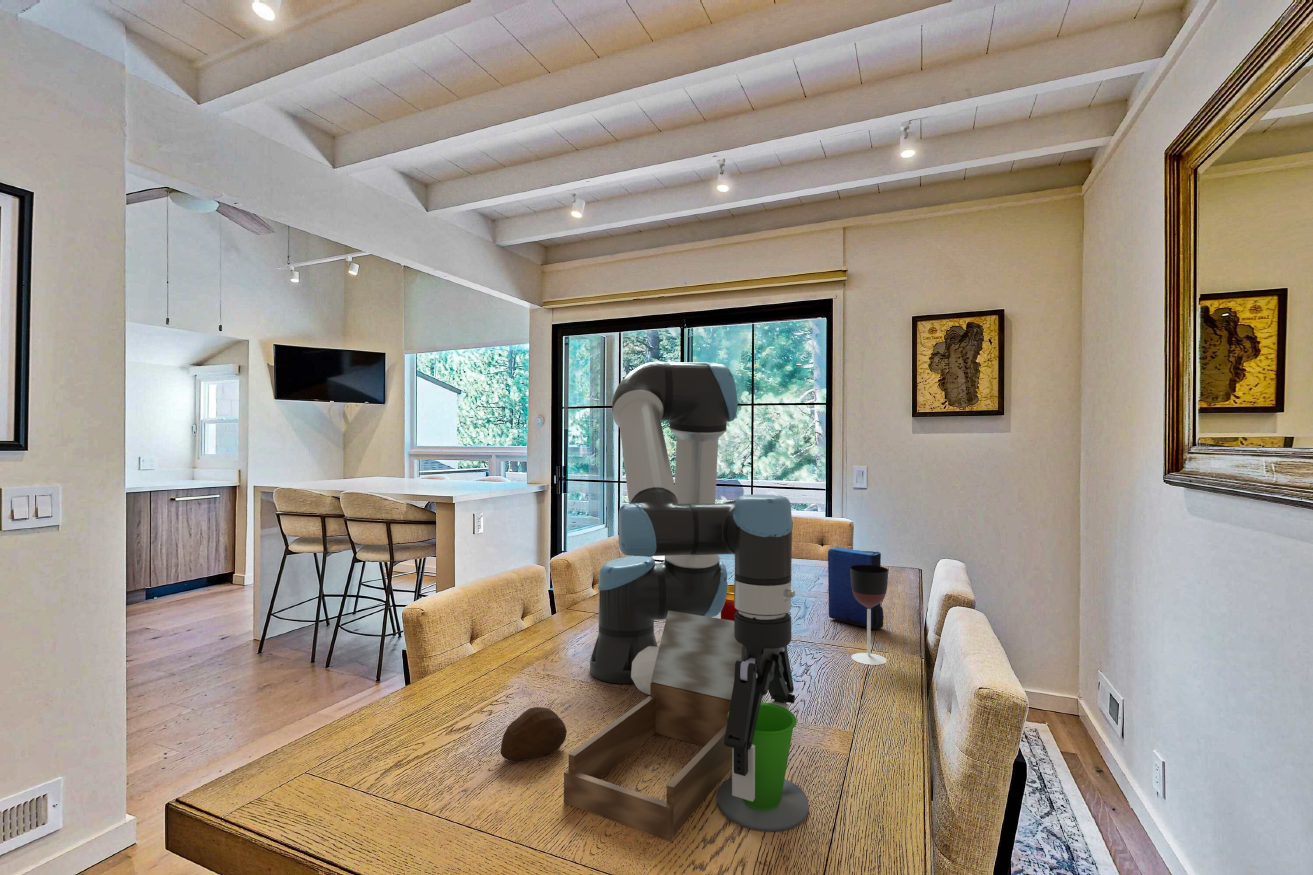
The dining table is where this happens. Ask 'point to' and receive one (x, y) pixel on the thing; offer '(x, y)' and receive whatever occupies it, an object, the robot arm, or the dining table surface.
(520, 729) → the potato
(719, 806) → the gray round coaster
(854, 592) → the wineglass
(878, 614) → the book
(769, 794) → the cup
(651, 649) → the beige half-round piece
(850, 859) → the dining table surface
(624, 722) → the cold frame
